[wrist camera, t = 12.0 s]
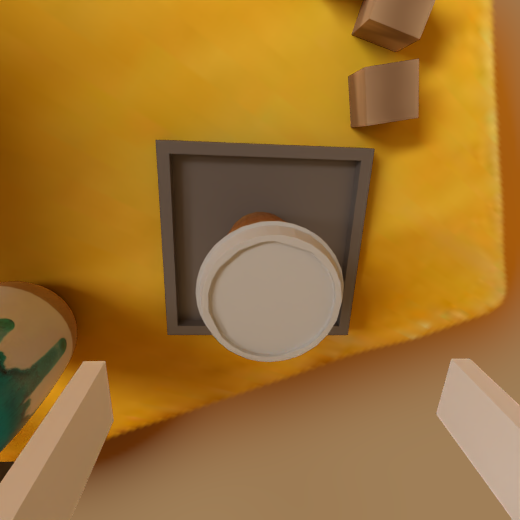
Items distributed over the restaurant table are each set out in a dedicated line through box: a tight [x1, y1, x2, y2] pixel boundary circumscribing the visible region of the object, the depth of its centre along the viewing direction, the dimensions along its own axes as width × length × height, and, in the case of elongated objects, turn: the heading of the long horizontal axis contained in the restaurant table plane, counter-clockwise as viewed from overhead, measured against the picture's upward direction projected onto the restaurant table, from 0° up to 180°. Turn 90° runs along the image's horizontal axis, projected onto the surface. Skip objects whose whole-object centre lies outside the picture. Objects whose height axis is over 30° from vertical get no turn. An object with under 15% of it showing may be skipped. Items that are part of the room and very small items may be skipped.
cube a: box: [348, 59, 419, 127], centre depth 27 cm, size 4×4×4 cm
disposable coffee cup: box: [196, 212, 344, 362], centre depth 26 cm, size 10×10×12 cm
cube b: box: [352, 0, 435, 52], centre depth 25 cm, size 4×4×4 cm
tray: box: [156, 140, 374, 335], centre depth 32 cm, size 18×18×2 cm
